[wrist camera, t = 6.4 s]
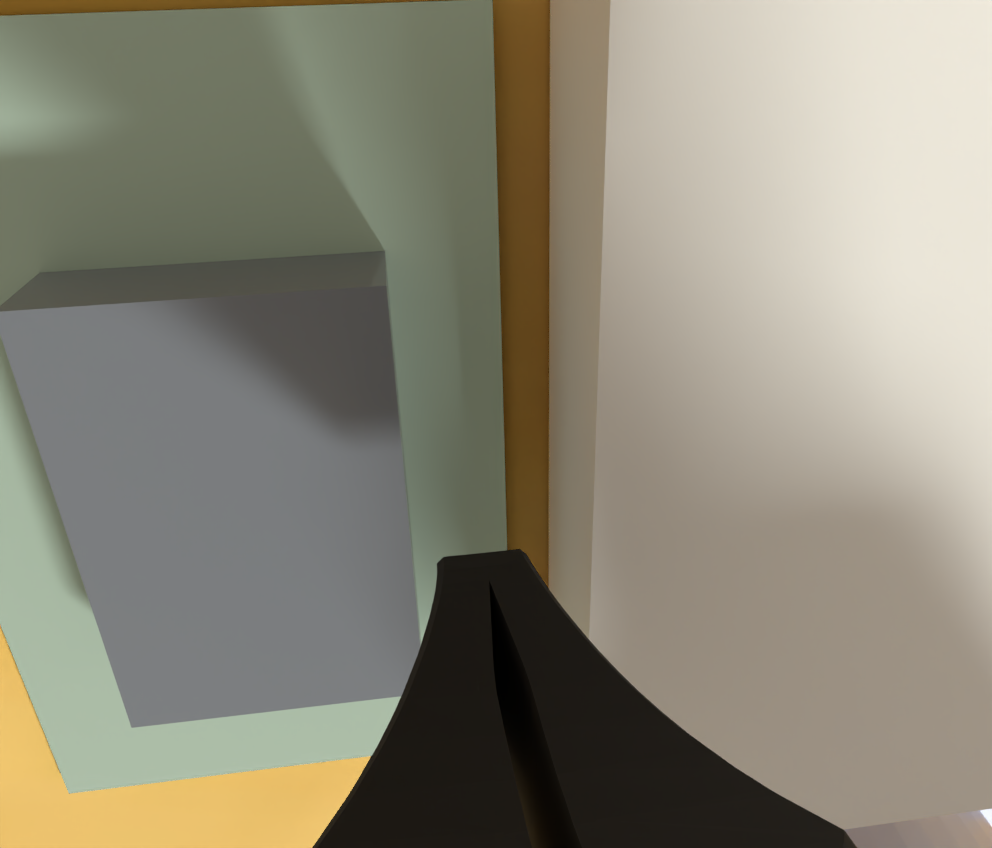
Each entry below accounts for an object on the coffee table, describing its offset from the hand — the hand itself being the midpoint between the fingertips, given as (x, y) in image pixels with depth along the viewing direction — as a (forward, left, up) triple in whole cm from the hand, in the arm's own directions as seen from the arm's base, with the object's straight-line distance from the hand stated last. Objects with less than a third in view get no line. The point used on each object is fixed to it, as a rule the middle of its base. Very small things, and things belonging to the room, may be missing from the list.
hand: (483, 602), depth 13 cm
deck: (0, -8, -5) cm, 9 cm away
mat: (0, +4, -5) cm, 7 cm away
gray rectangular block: (0, +4, -3) cm, 5 cm away
